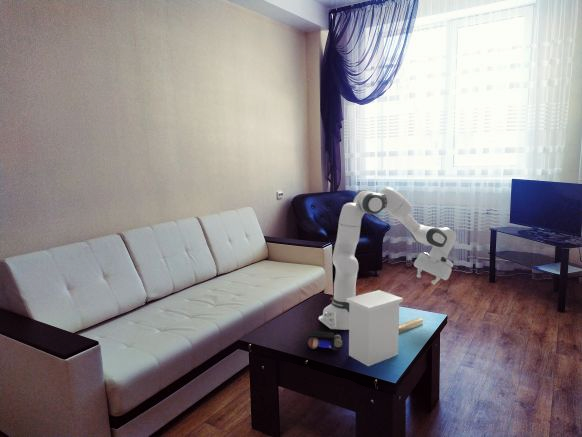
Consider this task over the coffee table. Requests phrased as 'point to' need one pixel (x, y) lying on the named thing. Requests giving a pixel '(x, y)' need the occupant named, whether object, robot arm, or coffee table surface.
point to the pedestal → (373, 326)
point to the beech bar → (410, 324)
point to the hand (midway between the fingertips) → (425, 280)
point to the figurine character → (315, 343)
